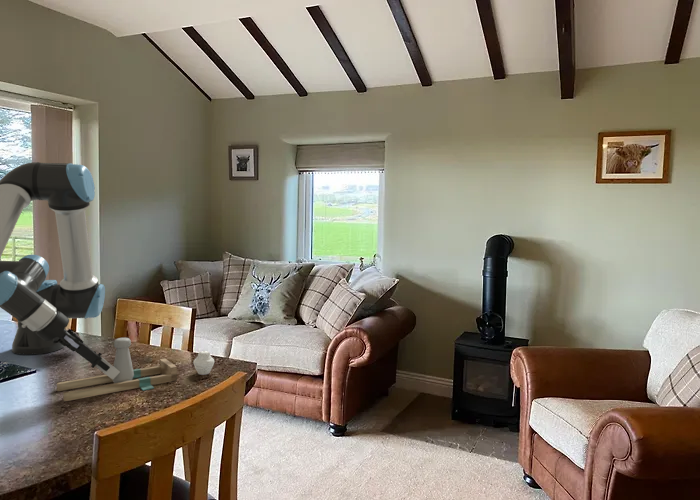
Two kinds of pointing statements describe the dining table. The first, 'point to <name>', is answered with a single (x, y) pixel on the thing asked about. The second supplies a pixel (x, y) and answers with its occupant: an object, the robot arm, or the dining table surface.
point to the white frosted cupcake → (203, 363)
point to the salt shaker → (123, 360)
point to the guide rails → (144, 383)
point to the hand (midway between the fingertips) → (115, 375)
